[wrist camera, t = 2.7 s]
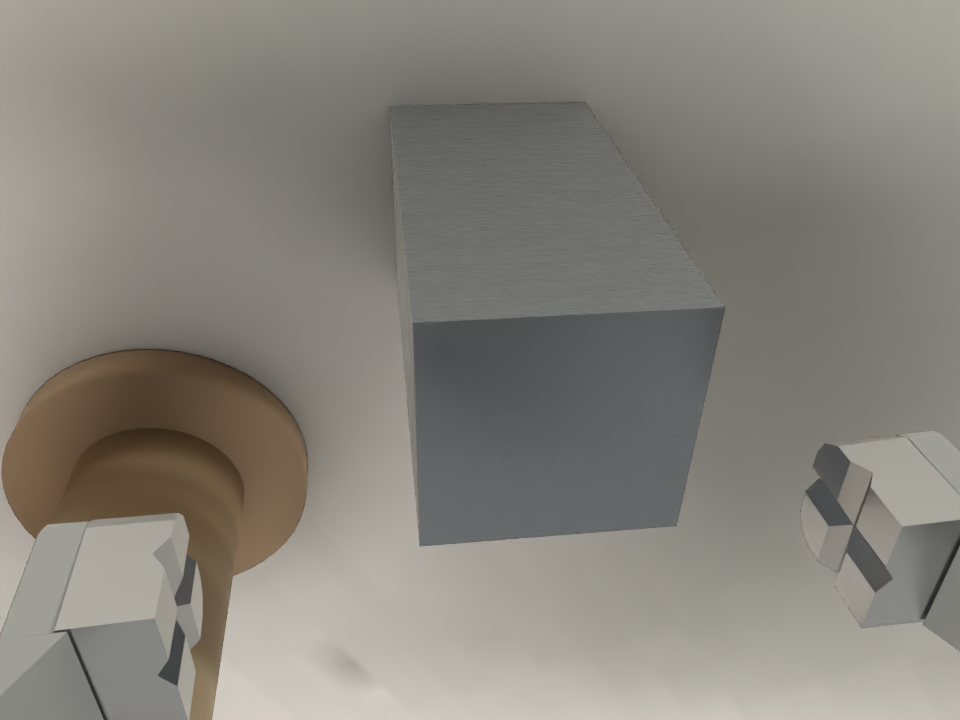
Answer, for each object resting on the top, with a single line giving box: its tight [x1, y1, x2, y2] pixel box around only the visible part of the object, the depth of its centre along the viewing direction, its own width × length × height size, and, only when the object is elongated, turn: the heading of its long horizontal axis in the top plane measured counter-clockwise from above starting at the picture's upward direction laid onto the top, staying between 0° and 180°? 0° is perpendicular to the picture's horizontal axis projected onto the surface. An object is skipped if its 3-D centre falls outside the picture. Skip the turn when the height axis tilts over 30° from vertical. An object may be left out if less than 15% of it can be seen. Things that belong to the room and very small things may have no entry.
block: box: [390, 102, 725, 546], centre depth 15 cm, size 4×4×8 cm
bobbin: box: [2, 350, 308, 720], centre depth 16 cm, size 7×7×13 cm
